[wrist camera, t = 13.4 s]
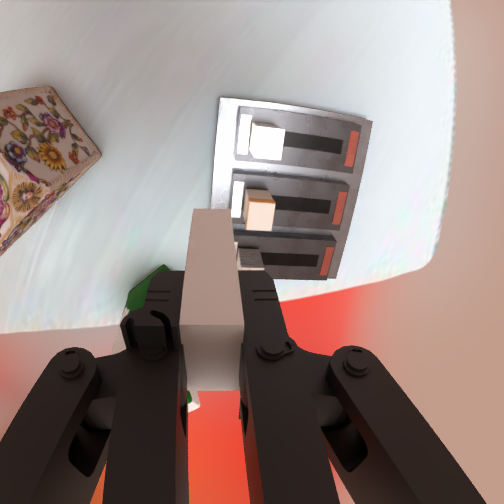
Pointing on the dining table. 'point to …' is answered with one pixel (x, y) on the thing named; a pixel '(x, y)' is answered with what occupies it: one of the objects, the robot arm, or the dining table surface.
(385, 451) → the robot arm
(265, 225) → the toggle
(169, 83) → the dining table surface
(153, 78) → the dining table surface
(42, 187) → the decorative jar
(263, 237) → the breaker panel
